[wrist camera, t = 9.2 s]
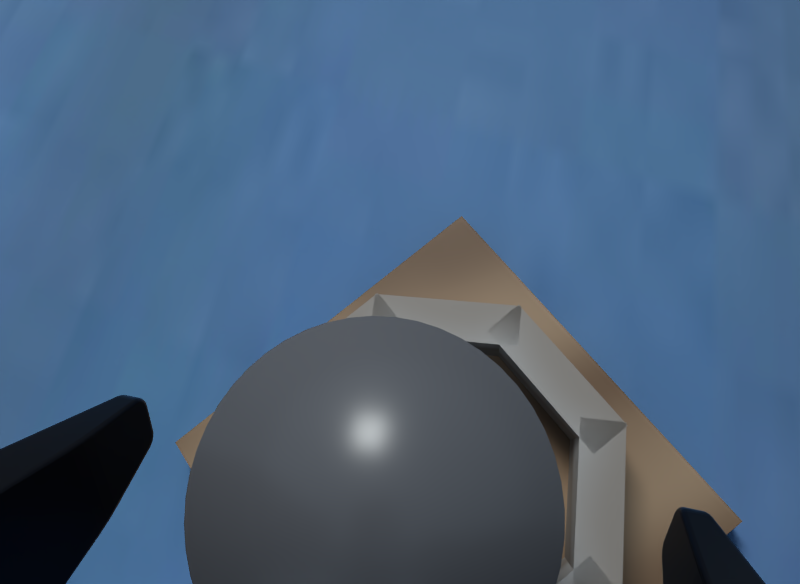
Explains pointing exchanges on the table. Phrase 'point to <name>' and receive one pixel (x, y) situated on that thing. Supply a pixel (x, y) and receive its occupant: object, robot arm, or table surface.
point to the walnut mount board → (551, 408)
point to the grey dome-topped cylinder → (374, 467)
